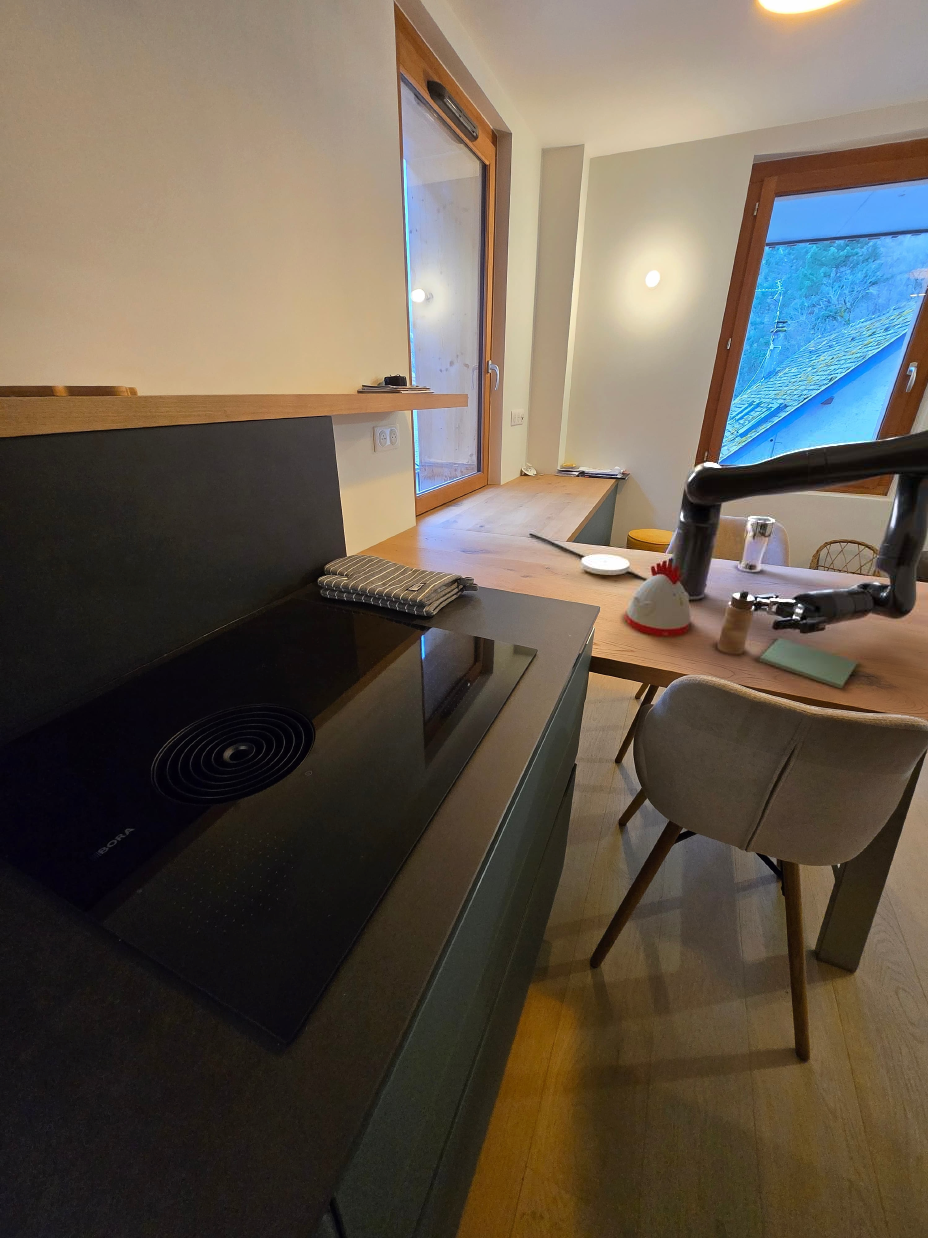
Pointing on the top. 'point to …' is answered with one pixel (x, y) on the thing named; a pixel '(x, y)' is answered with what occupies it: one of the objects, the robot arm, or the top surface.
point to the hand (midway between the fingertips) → (758, 616)
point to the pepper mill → (736, 623)
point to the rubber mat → (809, 662)
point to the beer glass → (755, 543)
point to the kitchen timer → (660, 603)
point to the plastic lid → (605, 564)
